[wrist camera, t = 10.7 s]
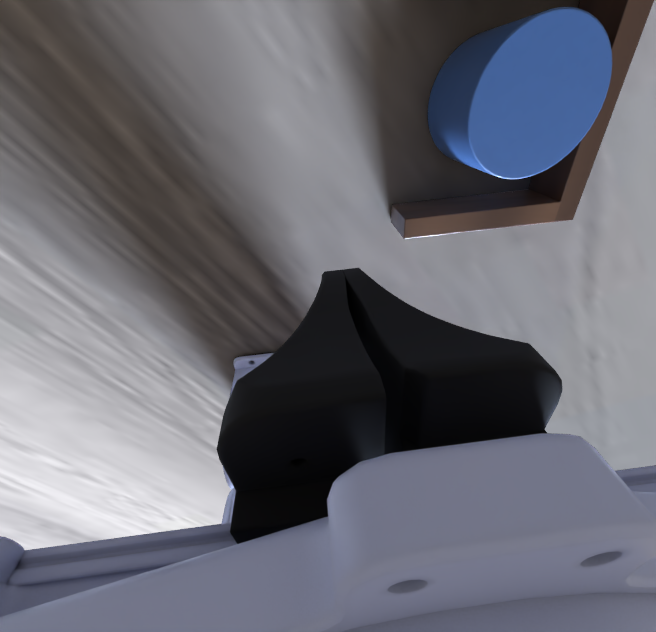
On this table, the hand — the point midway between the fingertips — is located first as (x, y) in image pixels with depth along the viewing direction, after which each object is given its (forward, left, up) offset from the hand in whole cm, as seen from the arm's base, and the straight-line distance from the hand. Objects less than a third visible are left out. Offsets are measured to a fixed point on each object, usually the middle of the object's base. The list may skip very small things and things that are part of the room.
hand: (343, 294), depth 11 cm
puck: (+9, +5, -10) cm, 15 cm away
